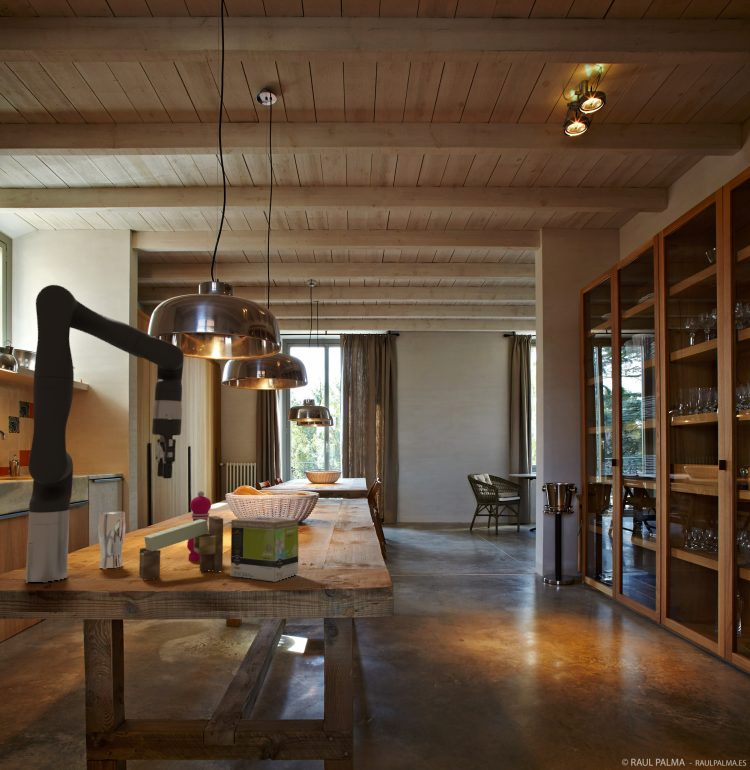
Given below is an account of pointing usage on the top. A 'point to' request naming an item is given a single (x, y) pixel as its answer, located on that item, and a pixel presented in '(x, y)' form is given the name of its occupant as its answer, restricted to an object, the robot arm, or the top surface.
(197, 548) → the cup bracket
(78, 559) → the top surface
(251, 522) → the tea box
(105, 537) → the beer glass
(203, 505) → the pepper mill
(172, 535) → the rail
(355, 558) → the top surface
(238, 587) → the top surface
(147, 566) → the block
